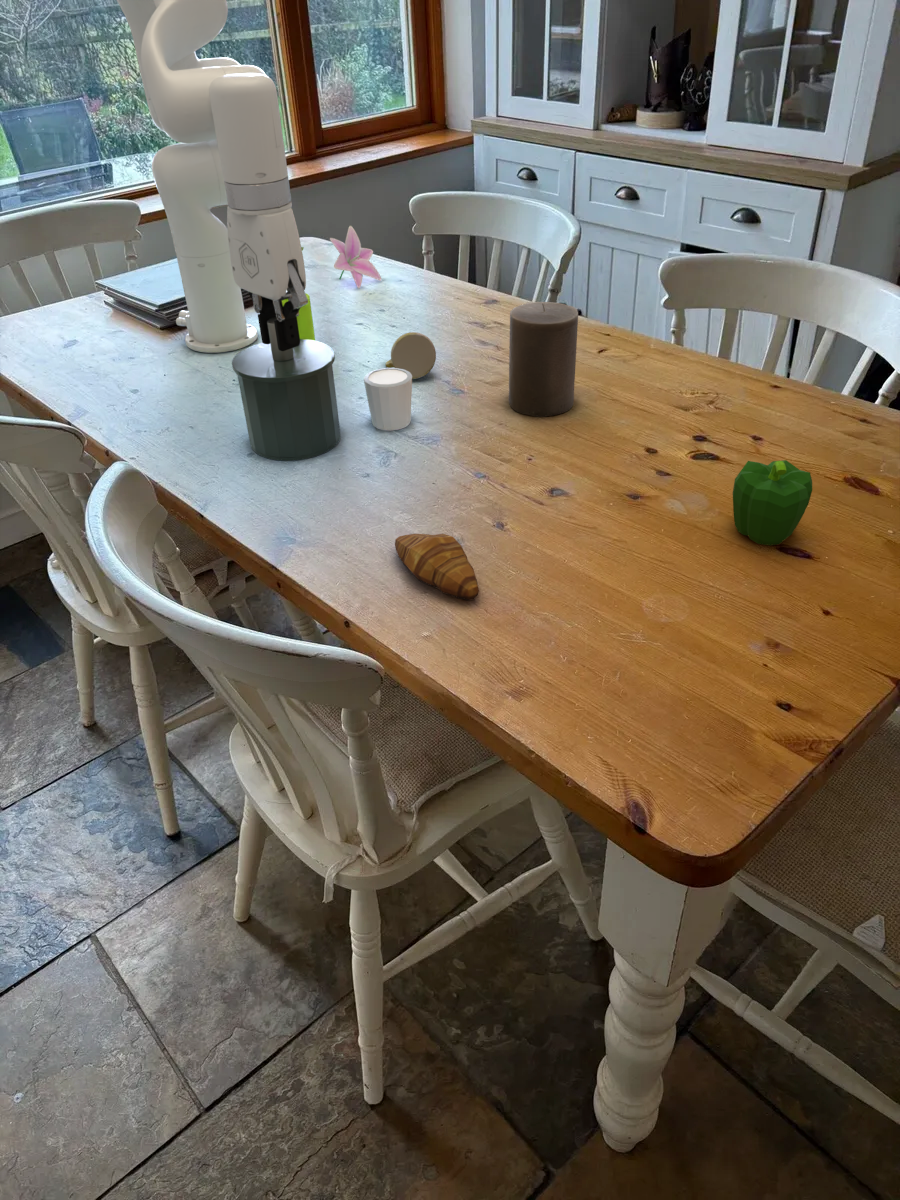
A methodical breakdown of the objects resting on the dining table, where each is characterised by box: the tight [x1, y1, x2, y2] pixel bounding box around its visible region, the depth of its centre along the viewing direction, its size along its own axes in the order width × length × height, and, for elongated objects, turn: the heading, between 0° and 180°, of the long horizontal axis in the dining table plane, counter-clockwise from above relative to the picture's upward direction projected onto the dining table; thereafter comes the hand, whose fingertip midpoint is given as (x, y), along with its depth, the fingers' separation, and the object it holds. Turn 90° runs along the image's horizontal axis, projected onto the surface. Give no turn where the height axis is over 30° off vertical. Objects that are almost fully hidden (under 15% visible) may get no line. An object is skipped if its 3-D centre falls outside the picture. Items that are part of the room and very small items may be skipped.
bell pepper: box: [732, 459, 813, 546], centre depth 98 cm, size 8×8×10 cm
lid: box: [231, 317, 336, 382], centre depth 115 cm, size 14×14×6 cm
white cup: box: [363, 367, 413, 432], centre depth 125 cm, size 7×7×7 cm
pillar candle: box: [508, 301, 579, 418], centre depth 126 cm, size 10×10×15 cm
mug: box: [384, 331, 437, 380], centre depth 140 cm, size 8×10×10 cm
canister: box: [236, 364, 341, 462], centre depth 120 cm, size 13×13×12 cm
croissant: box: [394, 533, 480, 601], centre depth 95 cm, size 14×7×5 cm, turn 39°
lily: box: [329, 225, 383, 289], centre depth 178 cm, size 12×12×10 cm
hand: (281, 343), depth 115 cm, fingers closed on lid, 2 cm apart
